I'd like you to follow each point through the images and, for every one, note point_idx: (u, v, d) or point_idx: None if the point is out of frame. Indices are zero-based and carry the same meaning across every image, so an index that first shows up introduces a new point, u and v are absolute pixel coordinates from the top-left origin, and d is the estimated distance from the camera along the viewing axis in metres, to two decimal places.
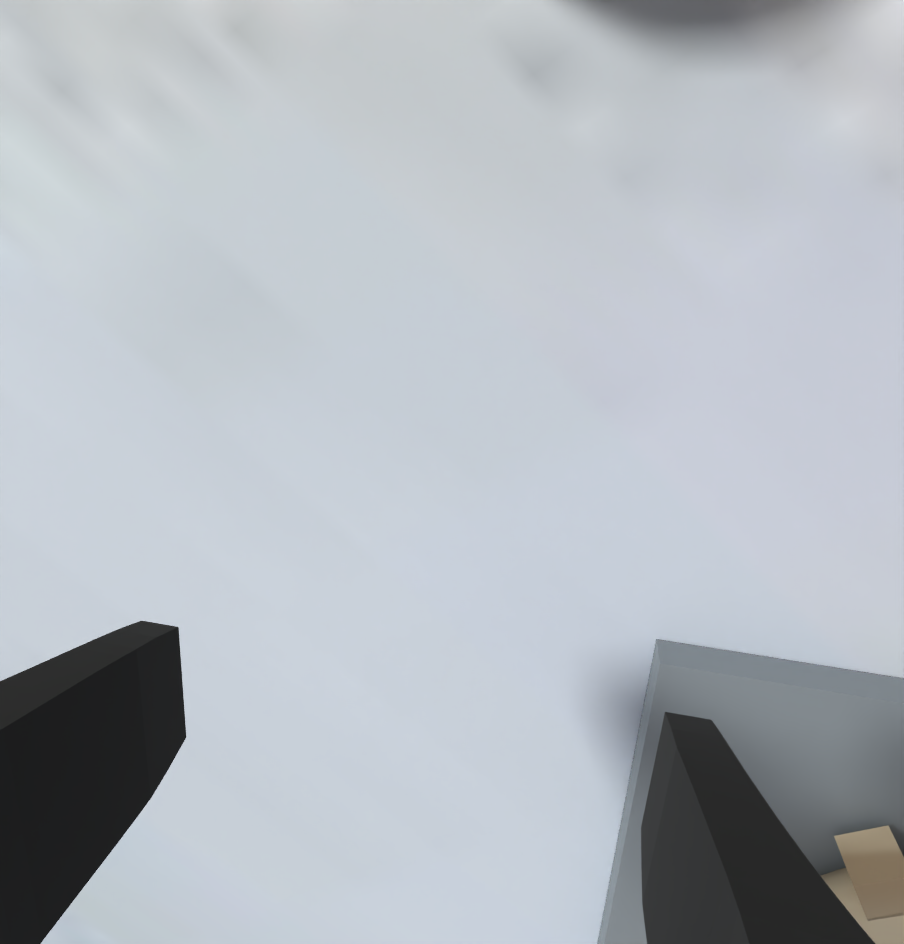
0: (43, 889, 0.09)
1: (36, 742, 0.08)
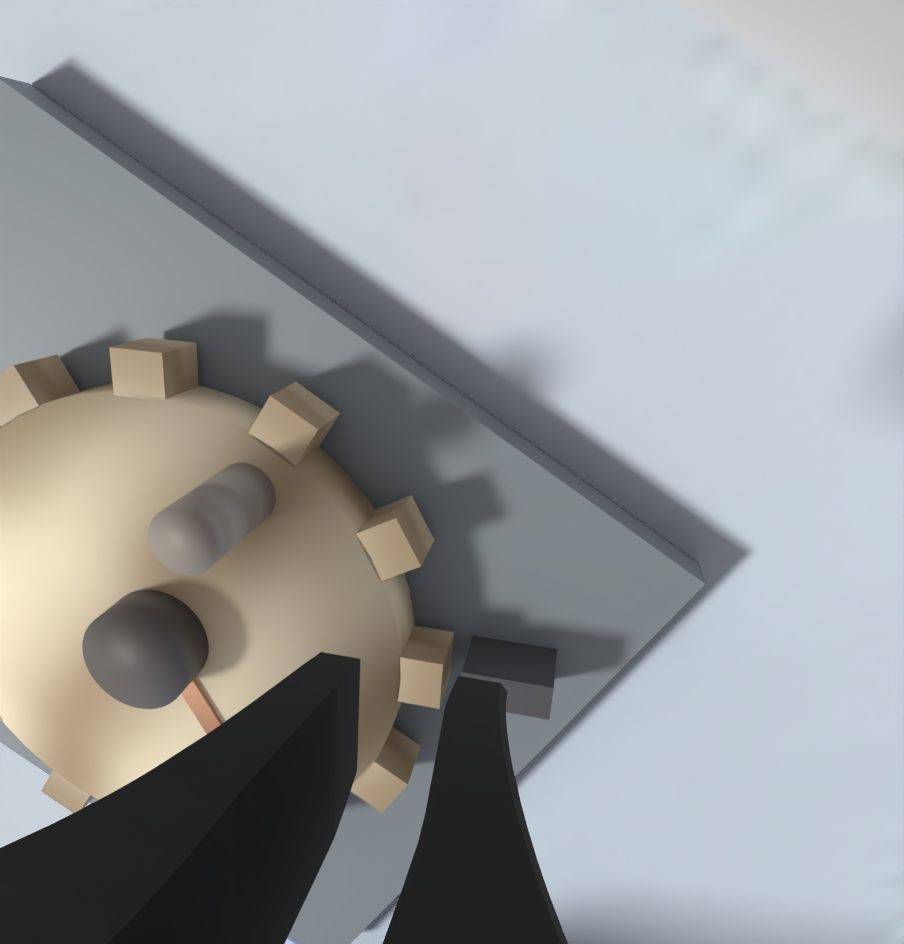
0: (264, 942, 0.08)
1: (270, 790, 0.08)
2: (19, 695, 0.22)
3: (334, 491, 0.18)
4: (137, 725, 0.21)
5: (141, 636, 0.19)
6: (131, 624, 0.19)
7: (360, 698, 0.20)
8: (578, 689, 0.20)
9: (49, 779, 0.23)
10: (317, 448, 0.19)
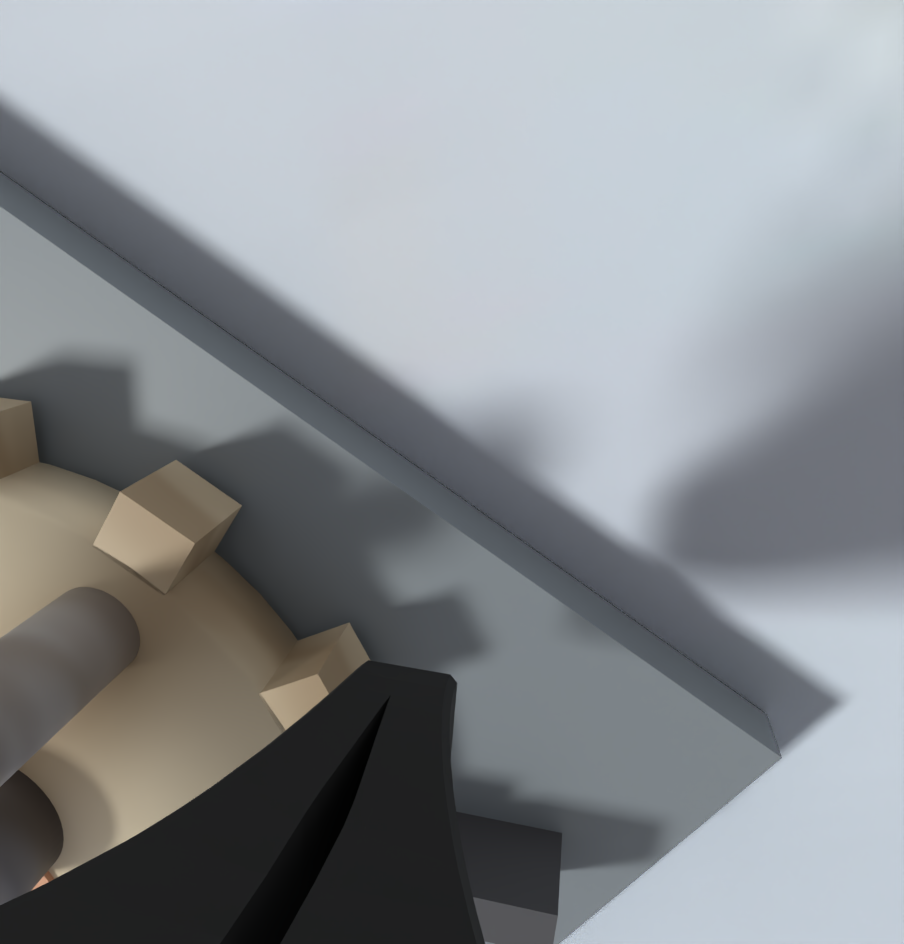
0: None
1: (333, 803, 0.08)
2: None
3: (229, 626, 0.12)
4: None
5: None
6: None
7: None
8: (592, 886, 0.14)
9: None
10: (210, 555, 0.13)
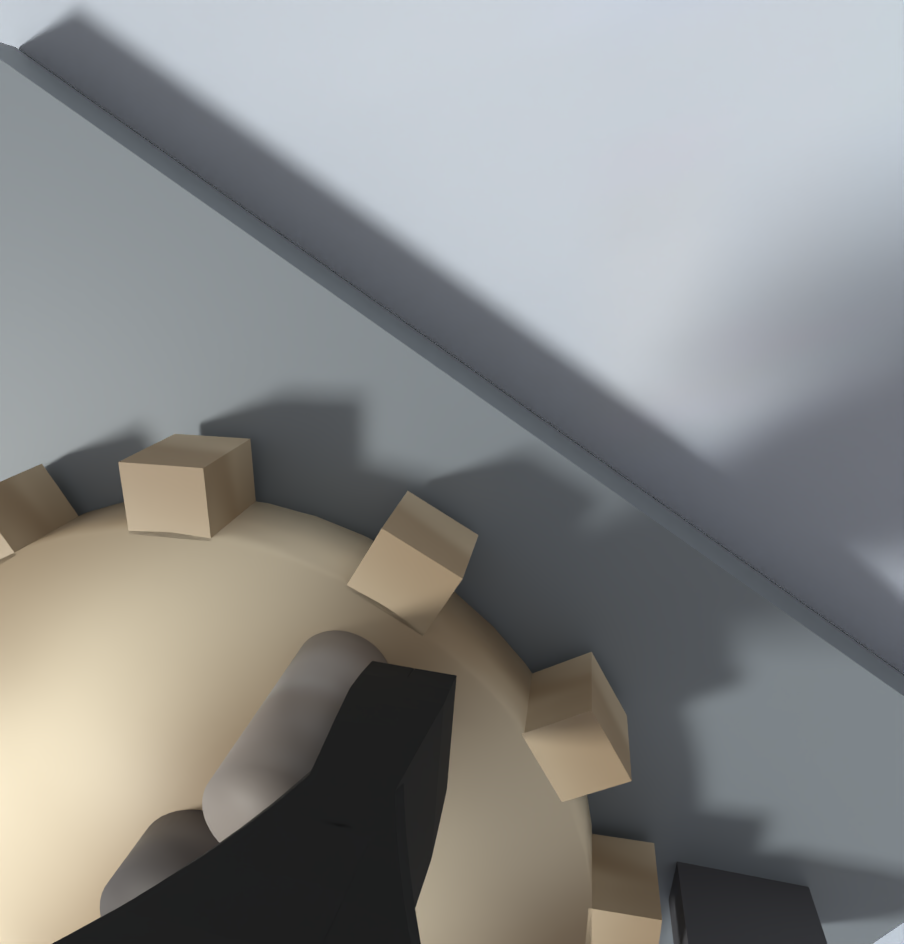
0: None
1: None
2: (14, 943, 0.15)
3: (483, 663, 0.11)
4: None
5: None
6: None
7: None
8: (835, 941, 0.14)
9: None
10: None
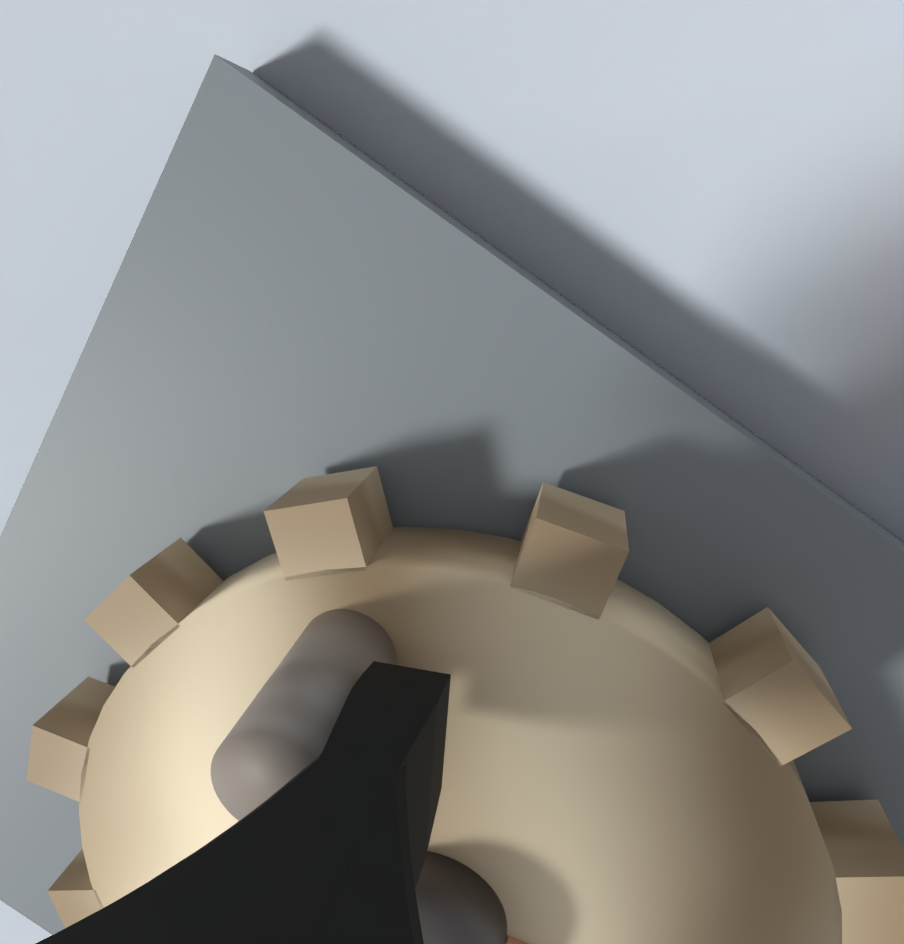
0: None
1: None
2: None
3: (442, 557, 0.11)
4: None
5: None
6: None
7: (730, 801, 0.11)
8: None
9: None
10: (391, 530, 0.12)
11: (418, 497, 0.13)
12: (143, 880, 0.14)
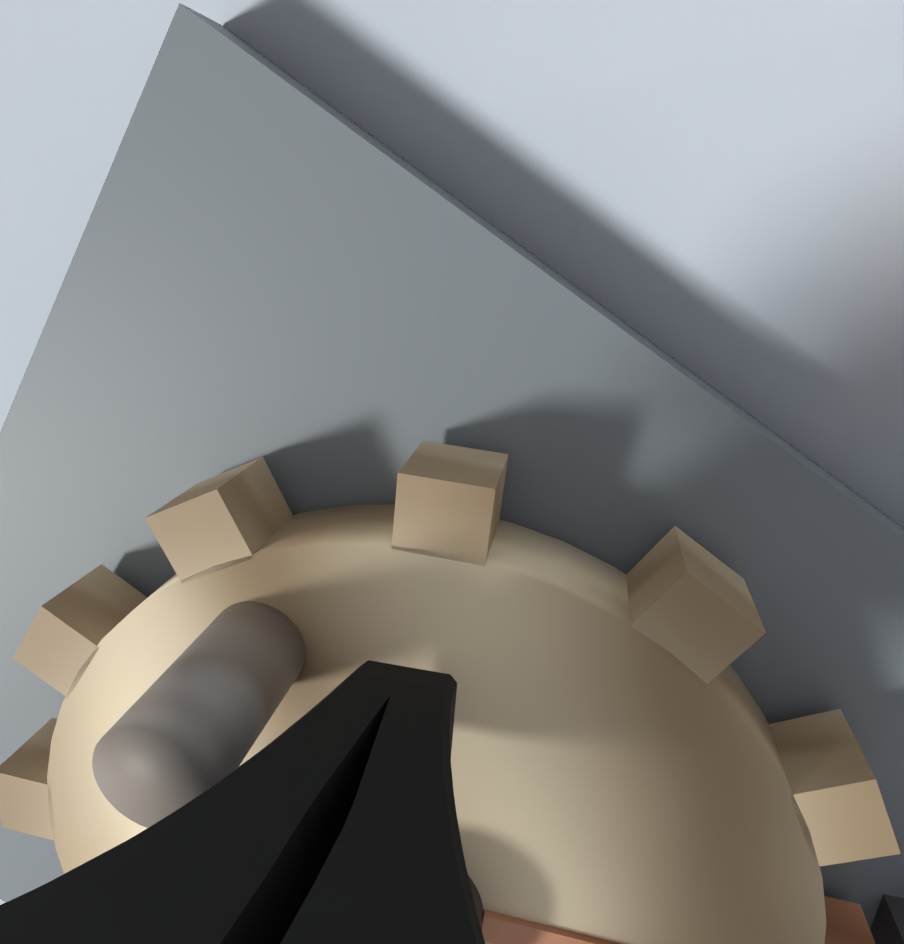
0: None
1: (333, 802, 0.08)
2: None
3: (328, 532, 0.11)
4: None
5: None
6: None
7: (664, 731, 0.11)
8: None
9: None
10: (289, 518, 0.12)
11: (395, 473, 0.12)
12: None
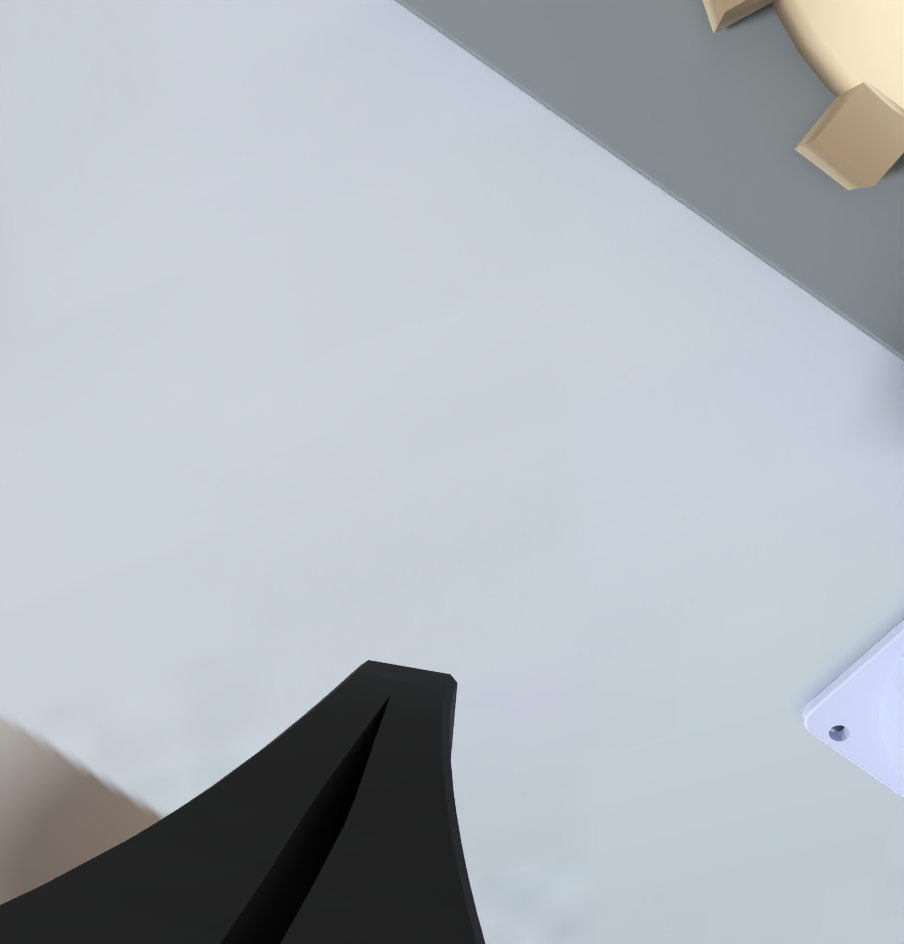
0: None
1: (333, 803, 0.08)
2: None
3: None
4: None
5: None
6: None
7: None
8: None
9: None
10: None
11: None
12: None
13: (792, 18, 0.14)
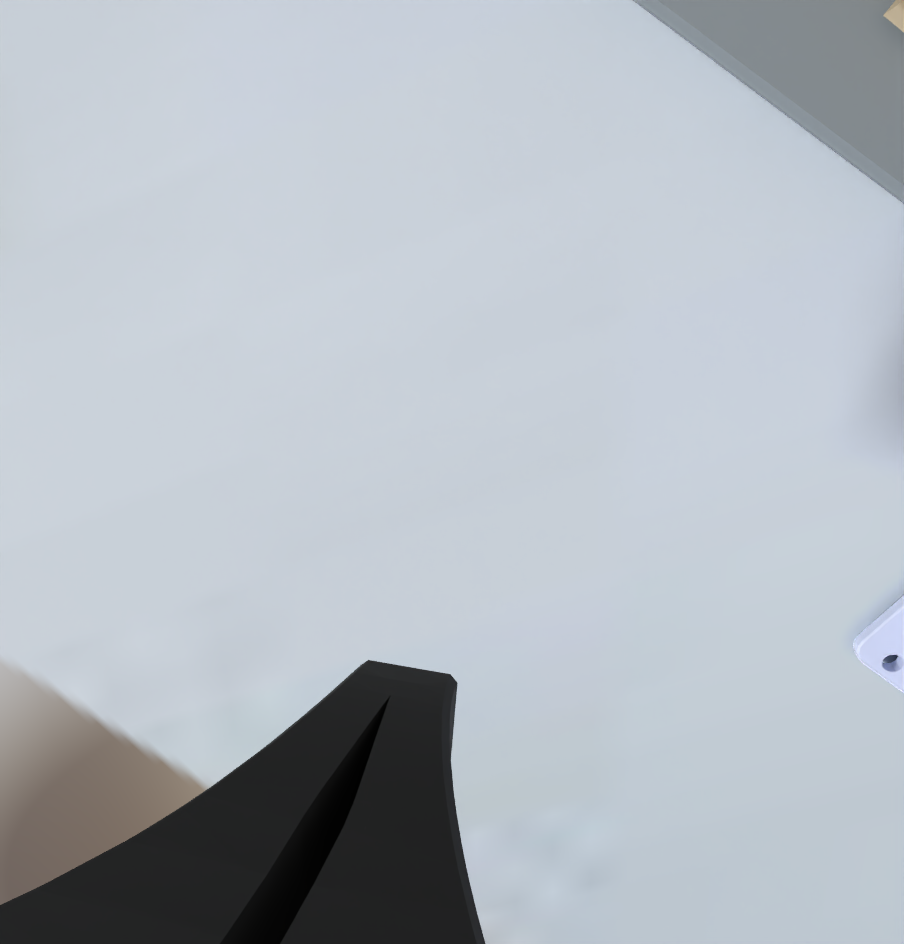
0: None
1: (333, 803, 0.08)
2: None
3: None
4: None
5: None
6: None
7: None
8: None
9: None
10: None
11: None
12: None
13: None
